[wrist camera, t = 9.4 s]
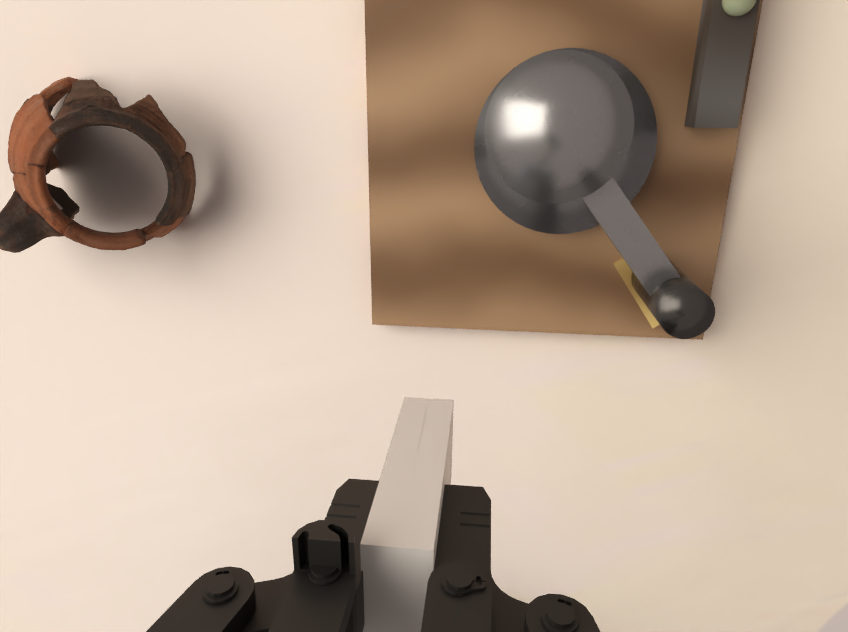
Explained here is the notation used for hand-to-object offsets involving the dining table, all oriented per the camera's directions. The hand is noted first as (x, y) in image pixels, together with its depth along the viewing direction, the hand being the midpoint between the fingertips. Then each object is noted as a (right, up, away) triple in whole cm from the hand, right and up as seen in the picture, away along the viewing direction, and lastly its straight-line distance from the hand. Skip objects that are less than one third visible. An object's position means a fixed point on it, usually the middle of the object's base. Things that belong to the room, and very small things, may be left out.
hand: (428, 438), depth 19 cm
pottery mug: (-18, +13, +18) cm, 29 cm away
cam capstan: (+9, +11, +13) cm, 19 cm away
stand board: (+6, +12, +14) cm, 20 cm away
